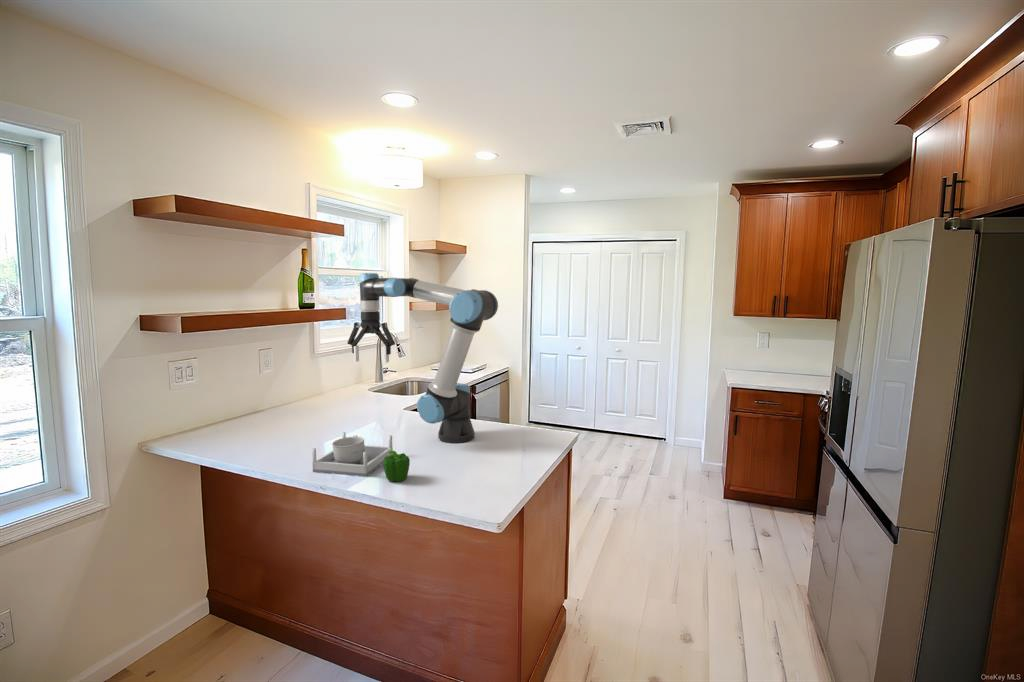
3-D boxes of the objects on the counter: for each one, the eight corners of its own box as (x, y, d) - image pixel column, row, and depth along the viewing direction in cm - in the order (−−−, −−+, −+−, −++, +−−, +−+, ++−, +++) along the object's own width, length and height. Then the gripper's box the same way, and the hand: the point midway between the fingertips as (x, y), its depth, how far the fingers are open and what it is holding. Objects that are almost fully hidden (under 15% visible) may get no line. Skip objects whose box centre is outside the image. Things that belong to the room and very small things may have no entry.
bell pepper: (412, 474, 168) (411, 445, 167) (407, 484, 160) (407, 454, 159) (387, 474, 168) (386, 445, 166) (381, 484, 159) (380, 454, 158)
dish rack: (393, 456, 185) (392, 435, 184) (366, 476, 166) (365, 453, 165) (343, 452, 190) (343, 432, 189) (312, 471, 170) (311, 449, 169)
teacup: (355, 469, 170) (354, 446, 169) (326, 466, 172) (325, 444, 171) (374, 455, 183) (374, 434, 183) (347, 453, 186) (347, 432, 185)
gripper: (402, 310, 206) (403, 361, 208) (347, 310, 211) (349, 359, 213) (394, 311, 198) (395, 364, 201) (337, 311, 204) (339, 362, 206)
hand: (371, 361), depth 207 cm, fingers open, 13 cm apart
